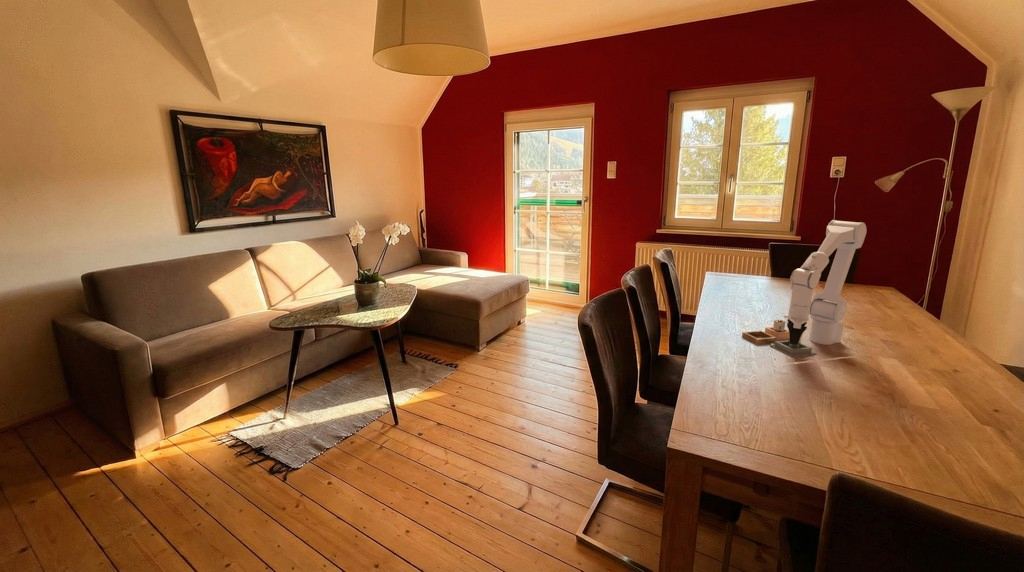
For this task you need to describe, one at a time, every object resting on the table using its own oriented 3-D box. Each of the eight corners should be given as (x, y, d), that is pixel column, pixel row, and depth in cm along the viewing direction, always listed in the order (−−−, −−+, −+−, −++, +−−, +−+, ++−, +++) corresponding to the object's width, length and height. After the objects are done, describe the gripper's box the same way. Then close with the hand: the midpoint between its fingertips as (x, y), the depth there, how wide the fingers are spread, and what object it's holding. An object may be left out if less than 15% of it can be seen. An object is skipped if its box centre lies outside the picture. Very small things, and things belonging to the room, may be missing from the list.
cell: (793, 344, 151) (797, 327, 150) (802, 348, 148) (806, 331, 146) (784, 344, 151) (788, 327, 149) (793, 349, 147) (796, 331, 146)
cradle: (792, 345, 155) (793, 338, 155) (815, 356, 146) (817, 348, 146) (769, 347, 154) (770, 340, 153) (791, 358, 144) (792, 351, 144)
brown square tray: (760, 336, 164) (760, 330, 163) (775, 343, 157) (776, 337, 156) (741, 338, 162) (742, 332, 162) (756, 345, 155) (757, 339, 155)
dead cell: (777, 334, 164) (780, 318, 163) (785, 337, 161) (788, 321, 159) (769, 335, 163) (772, 319, 162) (777, 338, 160) (779, 322, 158)
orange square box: (777, 334, 166) (779, 326, 165) (790, 340, 160) (791, 331, 159) (764, 335, 164) (765, 327, 164) (776, 341, 159) (777, 333, 158)
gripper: (786, 297, 153) (781, 333, 157) (785, 307, 142) (779, 346, 145) (810, 300, 150) (804, 337, 153) (811, 311, 138) (804, 351, 141)
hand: (793, 342), depth 149 cm, fingers closed on cell, 4 cm apart
